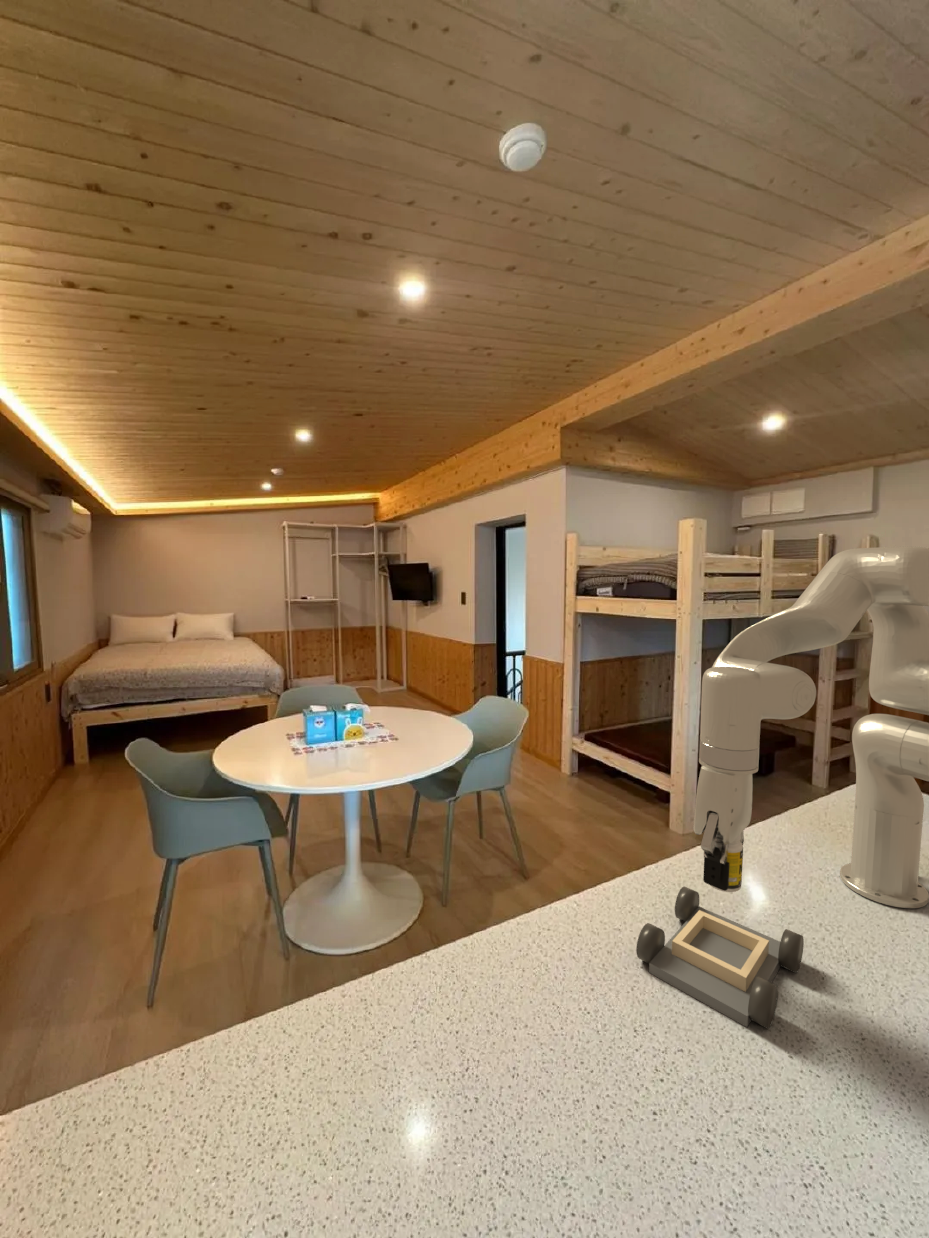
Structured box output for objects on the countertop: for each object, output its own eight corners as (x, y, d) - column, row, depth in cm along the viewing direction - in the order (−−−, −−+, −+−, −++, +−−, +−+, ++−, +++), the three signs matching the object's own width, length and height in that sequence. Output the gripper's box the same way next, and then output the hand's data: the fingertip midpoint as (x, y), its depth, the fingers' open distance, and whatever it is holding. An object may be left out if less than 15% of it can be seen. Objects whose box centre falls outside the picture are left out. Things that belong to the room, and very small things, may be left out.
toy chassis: (686, 909, 90) (687, 881, 90) (802, 961, 78) (804, 929, 78) (635, 965, 77) (636, 932, 77) (764, 1037, 65) (766, 999, 65)
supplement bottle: (745, 895, 74) (748, 837, 73) (709, 891, 75) (711, 833, 74) (735, 875, 78) (738, 821, 78) (701, 872, 79) (703, 818, 79)
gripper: (722, 736, 84) (717, 847, 85) (676, 763, 72) (671, 891, 73) (775, 747, 78) (769, 865, 80) (735, 778, 66) (729, 916, 68)
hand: (722, 876), depth 77 cm, fingers closed on supplement bottle, 4 cm apart
